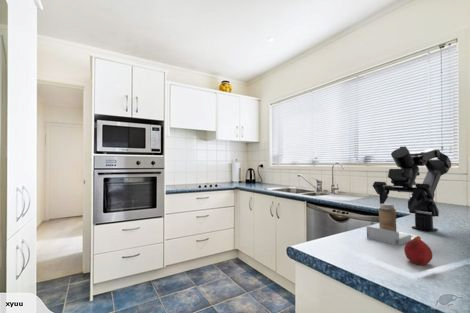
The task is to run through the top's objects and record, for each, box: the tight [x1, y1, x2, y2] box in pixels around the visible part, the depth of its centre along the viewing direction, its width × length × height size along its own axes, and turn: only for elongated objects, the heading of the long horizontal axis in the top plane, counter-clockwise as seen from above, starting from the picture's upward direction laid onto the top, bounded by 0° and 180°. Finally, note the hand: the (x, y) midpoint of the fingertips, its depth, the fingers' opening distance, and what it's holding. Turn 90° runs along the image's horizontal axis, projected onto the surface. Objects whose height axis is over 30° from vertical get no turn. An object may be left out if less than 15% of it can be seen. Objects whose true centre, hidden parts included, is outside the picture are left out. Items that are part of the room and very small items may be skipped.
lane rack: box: [366, 225, 417, 246], centre depth 82 cm, size 17×10×5 cm, turn 121°
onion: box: [403, 235, 434, 266], centre depth 60 cm, size 6×6×8 cm
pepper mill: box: [378, 203, 398, 232], centre depth 80 cm, size 5×5×12 cm
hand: (394, 206), depth 83 cm, fingers open, 9 cm apart
